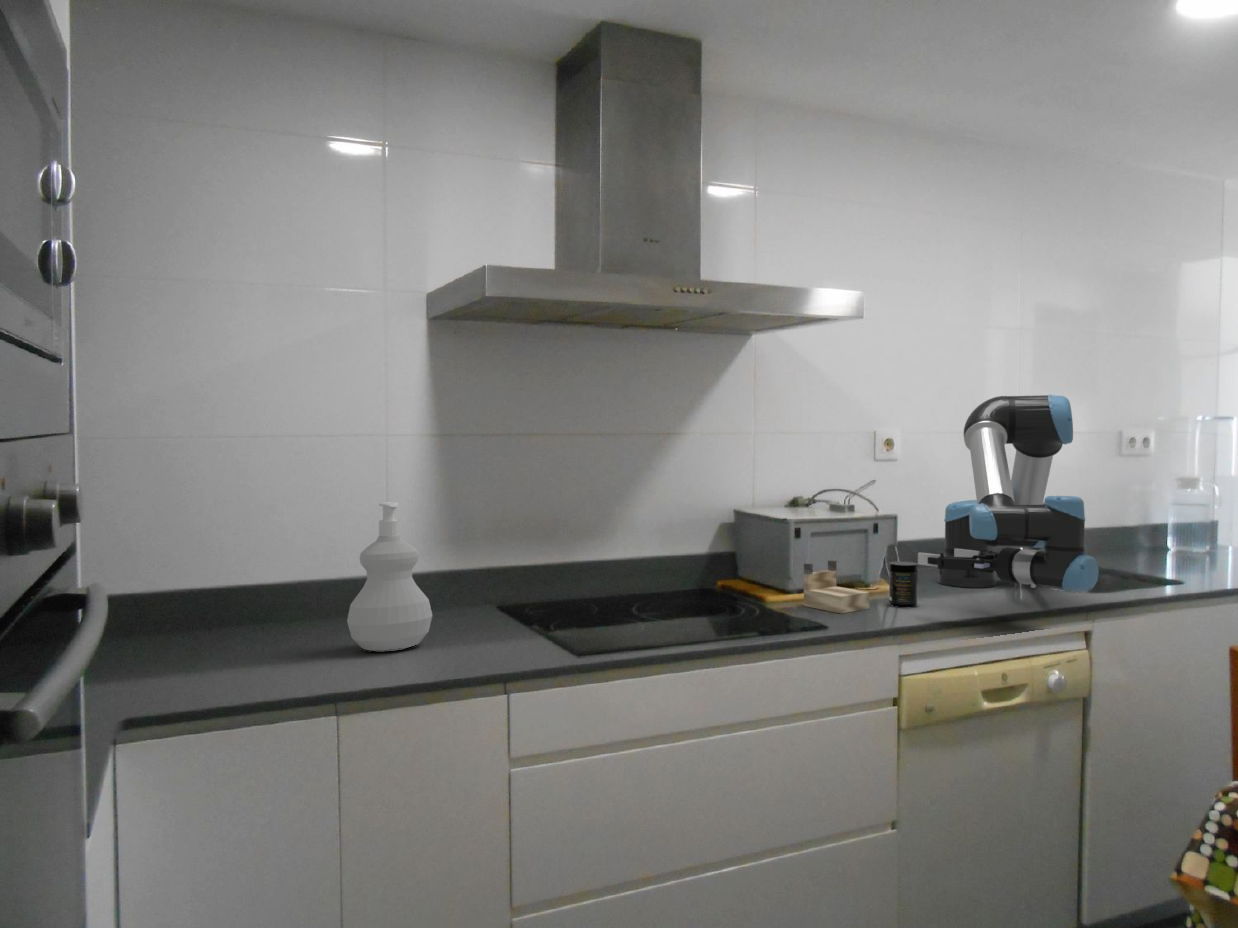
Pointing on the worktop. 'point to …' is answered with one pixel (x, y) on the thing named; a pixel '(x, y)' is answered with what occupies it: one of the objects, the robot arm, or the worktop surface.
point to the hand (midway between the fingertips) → (937, 556)
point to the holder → (831, 591)
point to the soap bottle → (389, 592)
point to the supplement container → (903, 584)
